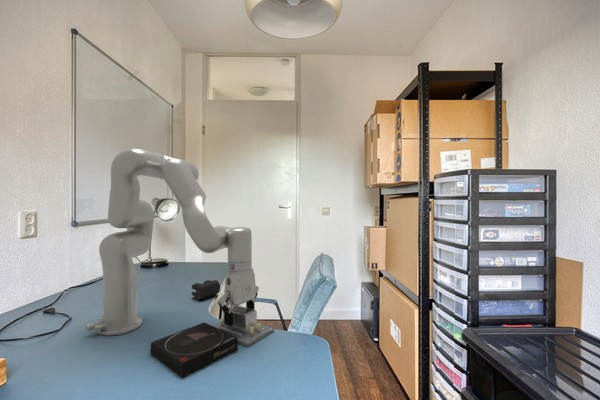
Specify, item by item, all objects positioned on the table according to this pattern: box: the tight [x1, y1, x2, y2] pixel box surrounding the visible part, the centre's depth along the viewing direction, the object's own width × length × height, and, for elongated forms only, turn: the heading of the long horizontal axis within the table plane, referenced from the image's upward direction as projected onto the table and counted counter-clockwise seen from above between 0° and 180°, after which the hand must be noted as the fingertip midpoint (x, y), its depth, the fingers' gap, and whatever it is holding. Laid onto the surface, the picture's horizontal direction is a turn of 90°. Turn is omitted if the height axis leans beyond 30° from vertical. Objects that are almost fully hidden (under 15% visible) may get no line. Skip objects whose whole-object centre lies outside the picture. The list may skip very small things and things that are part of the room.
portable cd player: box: [149, 322, 239, 379], centre depth 81 cm, size 16×17×4 cm
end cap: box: [191, 279, 221, 302], centre depth 126 cm, size 10×7×7 cm
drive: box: [222, 305, 258, 336], centre depth 93 cm, size 5×10×6 cm, turn 57°
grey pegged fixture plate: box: [212, 316, 275, 348], centre depth 93 cm, size 12×18×4 cm, turn 57°
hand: (239, 319), depth 93 cm, fingers open, 9 cm apart
